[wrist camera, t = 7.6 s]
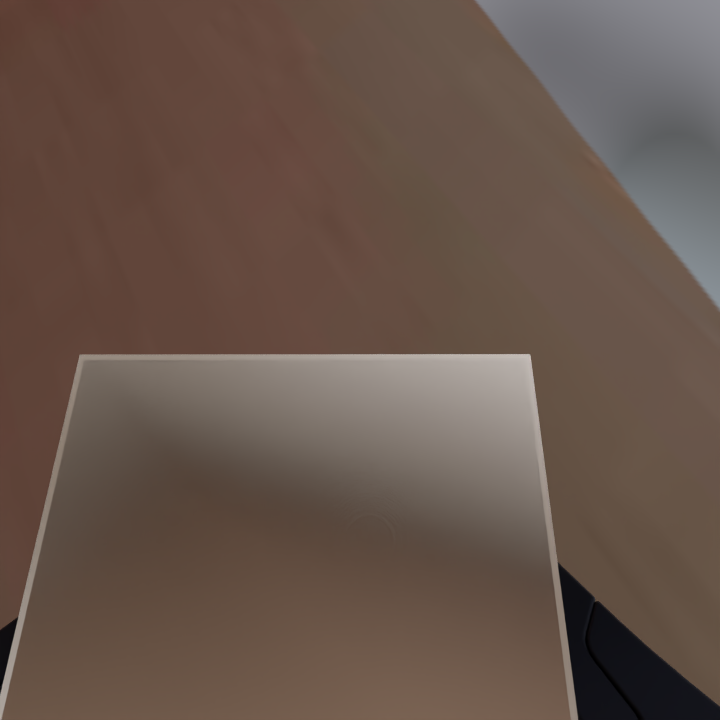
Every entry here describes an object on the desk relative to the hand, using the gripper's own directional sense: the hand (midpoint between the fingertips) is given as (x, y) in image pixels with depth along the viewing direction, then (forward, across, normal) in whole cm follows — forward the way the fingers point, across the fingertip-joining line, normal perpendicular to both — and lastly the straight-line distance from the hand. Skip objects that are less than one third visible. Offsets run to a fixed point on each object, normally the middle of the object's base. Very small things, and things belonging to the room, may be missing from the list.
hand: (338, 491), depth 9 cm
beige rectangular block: (+4, 0, +6) cm, 7 cm away
